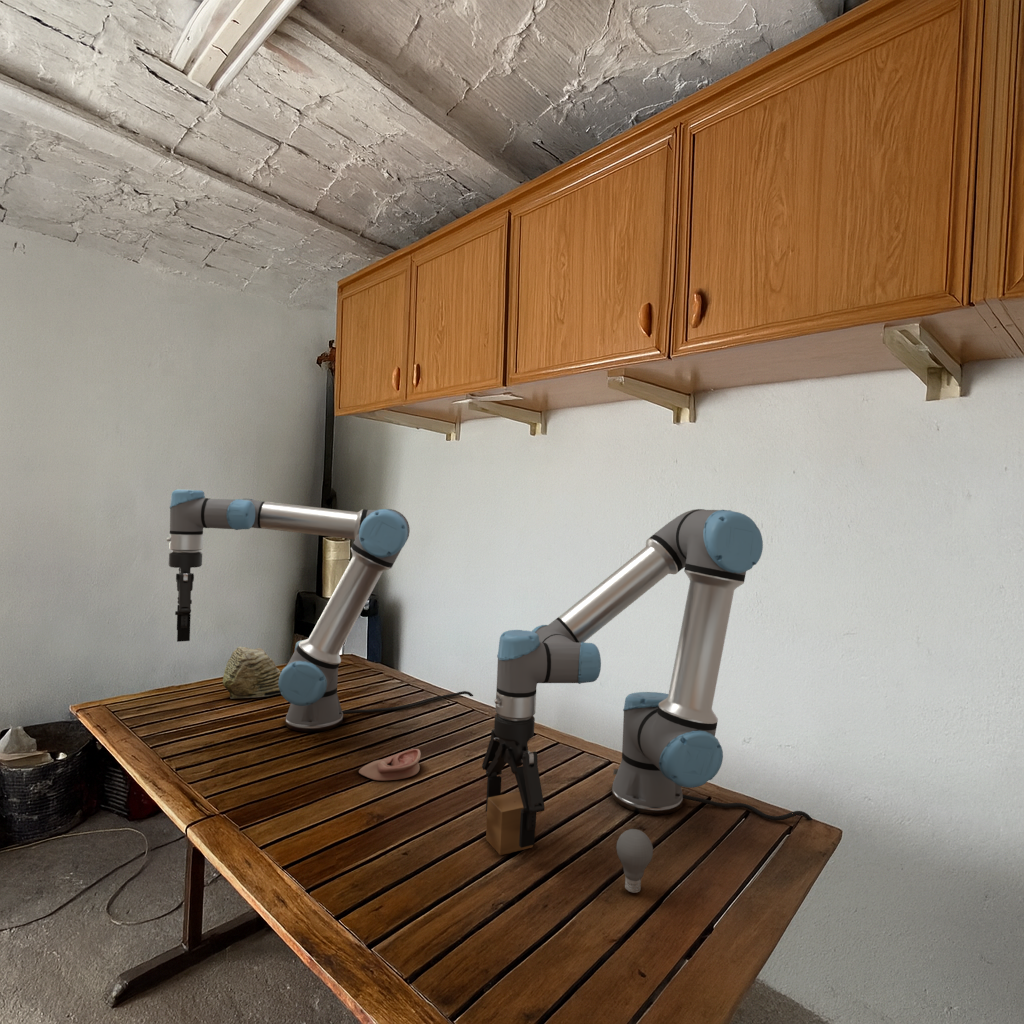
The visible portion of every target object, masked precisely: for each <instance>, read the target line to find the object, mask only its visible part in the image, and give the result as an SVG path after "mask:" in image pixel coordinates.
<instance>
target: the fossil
mask: <svg viewBox="0 0 1024 1024" xmlns="http://www.w3.org/2000/svg"><path fill="white" fill-rule="evenodd" d="M280 673H281V669H279V668H278V667H277V665H276V663H275V662H274V660H273V659H272V658H271V657H270V656H269V655H268V654H267V653H266V652H265V650H264V649H263V648H260V647H258V648H251V647H247V646H246V647H245V646H238V647H237V648H236V649H235V650H233V651H232V653H231V656H230V657H229V659H228V660H227V663H226V666H225V668H224V671H223V675H222V676H223V677H222V685H223V687H224V688H225V690H226V691H228V693H229V698H230V699H250V698H264V697H271V696H275V695H281V692H280V690H279V686H278V682H279V677H280Z"/></svg>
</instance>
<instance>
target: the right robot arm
mask: <svg viewBox="0 0 1024 1024" xmlns="http://www.w3.org/2000/svg"><path fill="white" fill-rule="evenodd" d="M763 540H764V539H763V536H762V533H761V529H759V527H758V525H757V524H756V522H755V520H753V519H752V518H751V517H749V516H747V515H746V514H745V513H741V512H739V511H733V510H731V509H704V508H697V509H690V510H688V511H685V512H683V513H681V514H680V515H678V516H676V517H675V518H673V519H671V520H670V521H669V522H667V523H666V524H665V525H664V526H663V527H661V528H660V529H658V530H657V531H656V532H654V533H653V534H652V535H651V536H650V537H649V538H647V539H646V540H645V546H644V548H642V549H641V550H640V551H638V552H637V553H636V554H634V555H633V556H632V557H631V558H630V559H628V560H627V561H626V562H625V563H624V564H622V565H621V566H620V567H618V568H617V569H616V570H615V571H614V572H612V573H611V574H610V575H609V576H607V577H606V578H605V579H604V580H602V581H601V582H600V583H599V584H598V585H596V586H595V587H594V588H592V589H591V590H590V591H589V592H588V593H586V594H585V595H584V596H583V597H582V598H580V599H579V600H578V601H576V602H575V603H574V604H573V605H571V606H570V607H569V608H568V609H567V610H565V611H564V612H563V613H561V614H560V615H559V616H558V617H557V618H555V619H554V620H552V621H551V622H550V623H549V624H540V625H538V626H536V627H534V628H533V629H532V630H523V629H509V630H506V631H503V632H502V633H501V634H500V636H499V642H498V651H497V654H496V658H497V667H496V669H497V670H496V691H495V692H496V694H495V699H494V704H495V709H494V710H495V713H496V714H495V715H494V725H493V728H492V729H491V732H490V740H489V743H488V746H487V749H486V751H485V755H484V758H483V761H482V764H481V769H482V770H483V771H485V776H486V777H487V780H486V781H487V782H486V800H485V801H486V804H485V812H486V813H487V803H488V798H489V797H494V796H499V795H502V777H501V776H500V775H503V769H505V768H504V767H505V766H506V765H508V767H510V771H511V773H512V774H513V775H514V777H515V780H516V784H517V788H518V791H519V792H520V796H521V800H522V803H523V807H524V809H521V819H520V837H519V846H520V847H521V848H522V847H526V846H531V845H533V846H534V845H535V839H536V836H535V835H536V827H537V813H541V812H544V811H545V803H544V795H543V790H542V784H541V778H540V772H539V765H538V764H539V763H538V762H539V761H538V752H537V750H535V751H530V750H529V746H528V743H529V741H530V740H531V739H532V738H533V737H534V736H535V722H536V718H535V715H536V709H537V707H536V706H537V687H538V684H578V685H581V684H585V683H586V684H587V683H594V682H596V681H597V680H598V678H599V677H600V675H601V669H602V659H601V653H600V650H599V647H598V646H597V645H596V644H595V643H593V642H586V641H588V639H590V638H592V636H594V635H595V634H596V633H598V632H599V631H600V630H601V629H602V628H604V627H605V626H606V625H608V624H609V623H610V622H611V621H612V620H614V619H615V618H616V617H618V615H620V614H621V613H622V612H624V611H625V610H626V609H627V608H628V607H630V606H631V605H632V604H634V602H636V601H637V600H638V599H640V598H641V597H642V596H643V595H644V594H645V593H647V592H648V591H649V590H650V589H652V588H653V587H654V586H656V585H657V584H658V583H659V582H660V581H661V580H663V579H664V578H665V577H666V576H668V575H677V574H678V573H680V571H681V570H683V569H684V571H683V572H684V574H685V575H686V576H687V578H688V580H689V586H688V590H687V594H686V601H685V605H684V611H683V615H682V620H681V621H682V622H681V627H680V631H679V637H678V642H677V643H678V644H677V648H676V653H675V658H674V663H673V670H672V674H671V679H670V685H669V690H668V693H666V692H665V693H664V692H658V691H657V692H655V691H636V692H632V693H629V694H628V695H627V696H626V697H625V699H624V706H623V709H622V711H623V719H622V720H623V721H622V723H623V724H622V748H621V760H620V763H619V766H618V768H615V769H613V773H612V774H613V775H614V776H615V777H614V779H613V781H612V786H611V796H612V799H613V800H614V801H615V802H616V803H617V804H619V805H620V806H621V807H624V808H626V809H628V810H630V811H633V812H636V813H640V814H646V815H654V816H655V815H656V816H657V815H658V816H659V815H669V814H673V813H675V812H678V811H679V810H680V809H681V808H682V807H683V805H684V804H683V803H684V801H683V800H688V801H692V802H697V803H701V804H705V805H710V806H713V807H717V808H724V809H725V808H727V809H731V808H743V809H747V810H749V811H752V812H753V813H755V814H757V815H758V816H759V817H761V818H763V819H766V820H768V821H769V820H770V821H775V822H779V821H784V820H788V819H791V818H794V817H797V816H800V817H803V818H805V819H806V820H808V821H813V819H814V818H812V816H811V815H809V814H808V813H807V812H806V811H803V810H795V811H791V812H788V813H785V814H782V815H771V814H767V813H764V812H763V811H761V810H759V809H758V808H757V807H755V806H754V805H750V804H747V803H743V802H727V803H726V802H723V803H722V802H719V801H714V800H710V799H706V798H702V797H697V796H692V795H687V794H683V790H682V787H683V788H688V789H690V788H691V789H692V788H693V789H695V788H698V787H702V786H704V785H706V784H707V782H709V781H711V780H713V779H714V778H715V777H716V775H717V774H718V773H719V771H720V769H721V767H722V765H723V760H724V751H723V747H722V745H721V743H720V741H719V739H718V738H717V737H716V733H717V726H718V721H719V719H718V717H717V715H716V714H715V711H713V705H714V699H715V694H716V689H717V683H718V679H719V672H720V668H721V662H722V656H723V653H724V652H723V651H724V647H725V640H726V636H727V630H728V626H729V621H730V615H731V610H732V604H733V599H734V593H735V590H736V589H738V588H739V587H741V586H742V585H744V584H745V579H746V574H747V572H748V571H750V570H752V568H753V567H754V566H755V565H757V564H758V563H759V561H760V559H761V557H762V554H763V549H764V544H763V543H764V541H763ZM792 813H793V814H792ZM795 814H796V815H797V816H796V815H795Z"/></svg>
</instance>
